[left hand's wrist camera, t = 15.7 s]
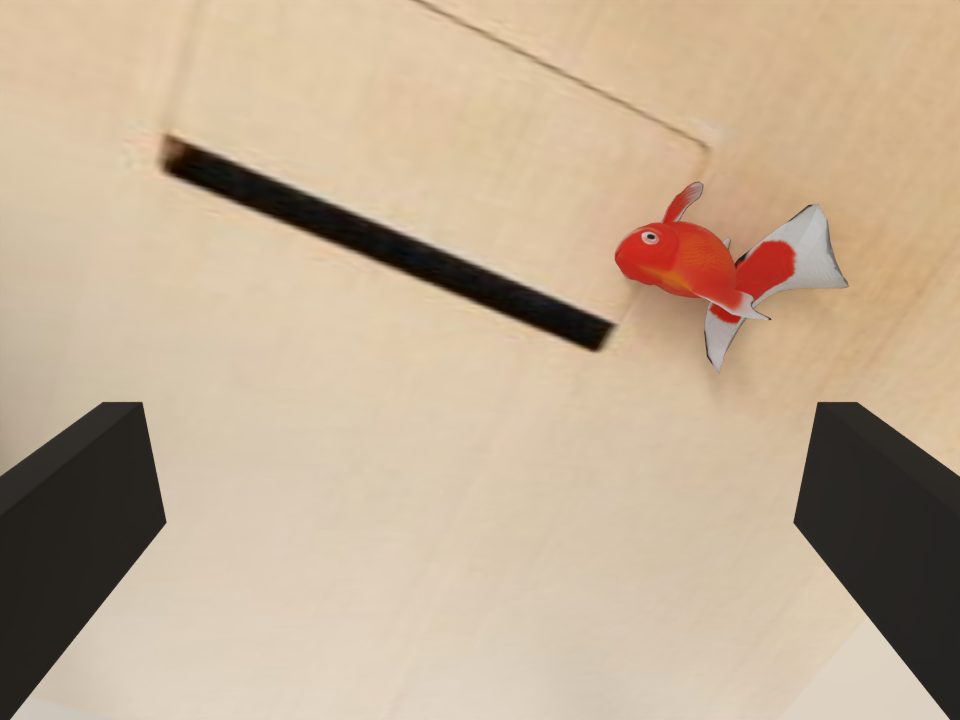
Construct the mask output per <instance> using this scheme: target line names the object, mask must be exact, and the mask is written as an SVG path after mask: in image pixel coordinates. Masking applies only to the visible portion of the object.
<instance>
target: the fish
mask: <svg viewBox="0 0 960 720" xmlns="http://www.w3.org/2000/svg"><path fill="white" fill-rule="evenodd" d="M702 190H703V184H702V183H700V182H695V183H692V184H691V185H689V186H687V187H686V188H685V189H684V190H683V191H682V192H681V193H680V194H678V195H677V196H676V197H675V198H674V200H673V201H672V202H671V204H670V205H669V207H668V209H667V211H666V213H665V216H664V218H663V221H661V222H659V223H651V224H649V225H646V226H643V227H640V228H638V229H636V230H634V231H632V232H630V233H629V234H628V235H627V236H625V237H624V238H623V240H622V241H621V242H620V243H619V245H618V247H617V249H616V252H615V261H616V263H617V265H618V266H619V268H620V270H621V271H622V273H623V275H624V276H625V277H626V278H628V279H632V280H637V281H639V282H642V283H644V284H647V285H657V286H659V287H660V288H662V289H663V290H665V291H667V292H669V293H671V294H674V295H679V296H684V297H692V298H705V299H707V300H709V301H710V303H709V306H708V309H707V314H706V319H705V330H704V333H705V342H706V351H707V357H708V359H709V360H710V362H711V363H712V365H713V366H714V367H715V369H716V370H717V372H718V373H719V372H720V369H721V365H722V362H723V358H724V355H725V353H726V351H727V349H728V347H729V345H730V344H731V342H732V340H733V338H734V336H735V334H736V333H737V331H738V329H739V327H740V326H741V325H742V323H743V322H744V321H745V319H746V318H753V319H764V320H771V318H769V317H767V316H764V315H762V314H760V313H758V312H757V311H755V310H754V308H755V307H756V306H757V305H758V304H759V303H760V302H761V301H763V300H764V299H765V298H767V297H768V296H770V295H772V294H774V293H776V292H779V291H783V290H789V289H796V288H824V289H832V288H846V287H848V286H849V285H848V282H847V281H846V279H845V278H844V277H843V275H842V273H841V271H840V269H839V267H838V265H837V263H836V260H835V257H834V253H833V250H832V247H831V243H830V236H829V227H828V221H827V219H826V217H825V216H824V214H823V212H822V210H821V208H820V207H819V205H818V204H814V205H808V206H807V207H806V208H804V209H803V210H802V211H801V212H799V213H798V214H797V215H796V216H795V217H793V218H792V219H791V220H790V221H788V222H787V223H785V224H784V225H782V226H781V227H780V228H778V229H777V230H775V231H774V232H773V233H771V234H770V235H769V236H767V237H766V238H765V239H763V240H762V241H761V242H760V243H758V244H757V245H756V246H754V247H753V248H752V249H751V250H749V251H748V252H747V253H746V254H744V255H743V256H742V257H740V258H739V259H738V260H737V262H736V263H735V264H734V262H733V260H732V257H731V255H730V253H729V251H728V249H729V244H730V238H727V239H726V240H724V241H723V242H722V241H721V240H720V239H719V238H718V237H717V236H716V235H714V234H713V233H712V232H711V231H709V230H707V229H706V228H703V227H701V226H698V225H695V224H692V223H688V222H681V221H679V220H680V218H681V217H682V215H683V213H684V212H685V210H686V208H687V207H688V206H689V205H691V204H692V203H693V202H695V201H696V200H697V199H698V198H699V197H700V196H701V194H702ZM678 221H679V222H678Z"/></svg>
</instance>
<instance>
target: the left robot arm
mask: <svg viewBox="0 0 960 720" xmlns="http://www.w3.org/2000/svg"><path fill="white" fill-rule="evenodd" d="M166 523H167V522H166V517H165V512H164V507H163V503H162V498H161V493H160V488H159V483H158V478H157V473H156V468H155V463H154V458H153V453H152V448H151V443H150V438H149V433H148V428H147V423H146V418H145V413H144V408H143V403H142V402H102V403H101V404H100V405H98V406H97V407H95V408H94V409H93V410H91V411H90V412H89V413H87V414H86V415H84V416H83V417H82V418H80V419H79V420H78V421H76V422H75V423H73V424H72V425H71V426H69V427H68V428H67V429H65V430H64V431H62V432H61V433H60V434H58V435H57V436H55V437H54V438H53V439H51V440H50V441H49V442H47V443H46V444H44V445H43V446H42V447H40V448H39V449H38V450H36V451H35V452H33V453H32V454H31V455H29V456H28V457H27V458H25V459H24V460H22V461H21V462H20V463H18V464H17V465H16V466H14V467H13V468H11V469H10V470H9V471H7V472H6V473H5V474H3V475H2V476H0V720H10V719H11V718H12V717H13V715H14V714H15V713H16V711H17V710H18V709H19V708H20V706H21V705H22V704H23V703H24V701H25V700H26V699H27V698H28V696H29V695H30V694H31V693H32V691H33V690H34V689H35V688H36V686H37V685H38V684H39V683H40V681H41V680H42V679H43V678H44V676H45V675H46V674H47V672H48V671H49V670H50V669H51V667H52V666H53V665H54V664H55V662H56V661H57V660H58V659H59V657H60V656H61V655H62V654H63V652H64V651H65V650H66V649H67V647H68V646H69V645H70V644H71V642H72V641H73V640H74V639H75V637H76V636H77V635H78V633H79V632H80V631H81V630H82V628H83V627H84V626H85V625H86V623H87V622H88V621H89V620H90V618H91V617H92V616H93V615H94V613H95V612H96V611H97V610H98V608H99V607H100V606H101V605H102V603H103V602H104V601H105V600H106V598H107V597H108V596H109V594H110V593H111V592H112V591H113V589H114V588H115V587H116V586H117V584H118V583H119V582H120V581H121V579H122V578H123V577H124V576H125V574H126V573H127V572H128V571H129V569H130V568H131V567H132V566H133V564H134V563H135V562H136V561H137V559H138V558H139V557H140V555H141V554H142V553H143V552H144V550H145V549H146V548H147V547H148V545H149V544H150V543H151V542H152V540H153V539H154V538H155V537H156V535H157V534H158V533H159V532H160V530H161V529H162V528H163V527H164V525H165V524H166ZM793 523H794V524H795V525H796V527H797V528H798V529H799V530H800V532H801V533H802V534H803V535H804V537H805V538H806V539H807V540H808V542H809V543H810V544H811V545H812V547H813V548H814V549H815V550H816V552H817V553H818V554H819V555H820V557H821V558H822V559H823V561H824V562H825V563H826V564H827V566H828V567H829V568H830V569H831V571H832V572H833V573H834V574H835V576H836V577H837V578H838V579H839V581H840V582H841V583H842V584H843V586H844V587H845V588H846V589H847V591H848V592H849V593H850V594H851V596H852V597H853V598H854V600H855V601H856V602H857V603H858V605H859V606H860V607H861V608H862V610H863V611H864V612H865V613H866V615H867V616H868V617H869V618H870V620H871V621H872V622H873V623H874V625H875V626H876V627H877V628H878V630H879V631H880V632H881V633H882V635H883V636H884V637H885V639H886V640H887V641H888V642H889V644H890V645H891V646H892V647H893V649H894V650H895V651H896V652H897V654H898V655H899V656H900V657H901V659H902V660H903V661H904V662H905V664H906V665H907V666H908V667H909V669H910V670H911V671H912V672H913V674H914V675H915V676H916V677H917V679H918V680H919V681H920V682H921V684H922V685H923V686H924V688H925V689H926V690H927V691H928V693H929V694H930V695H931V696H932V698H933V699H934V700H935V701H936V703H937V704H938V705H939V706H940V708H941V709H942V710H943V711H944V713H945V714H946V715H947V716H948V718H949V719H950V720H960V476H958V475H957V474H955V473H954V472H953V471H951V470H950V469H949V468H947V467H946V466H944V465H943V464H942V463H940V462H939V461H938V460H936V459H935V458H933V457H932V456H931V455H929V454H928V453H927V452H925V451H924V450H922V449H921V448H920V447H918V446H917V445H916V444H914V443H913V442H911V441H910V440H909V439H907V438H906V437H905V436H903V435H902V434H900V433H899V432H898V431H896V430H895V429H893V428H892V427H891V426H889V425H888V424H887V423H885V422H884V421H882V420H881V419H880V418H878V417H877V416H876V415H874V414H873V413H871V412H870V411H869V410H867V409H866V408H865V407H863V406H862V405H860V404H859V403H858V402H818V403H817V408H816V413H815V418H814V423H813V428H812V433H811V438H810V443H809V448H808V453H807V458H806V463H805V468H804V473H803V478H802V483H801V488H800V493H799V498H798V503H797V507H796V512H795V517H794V522H793Z"/></svg>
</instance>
